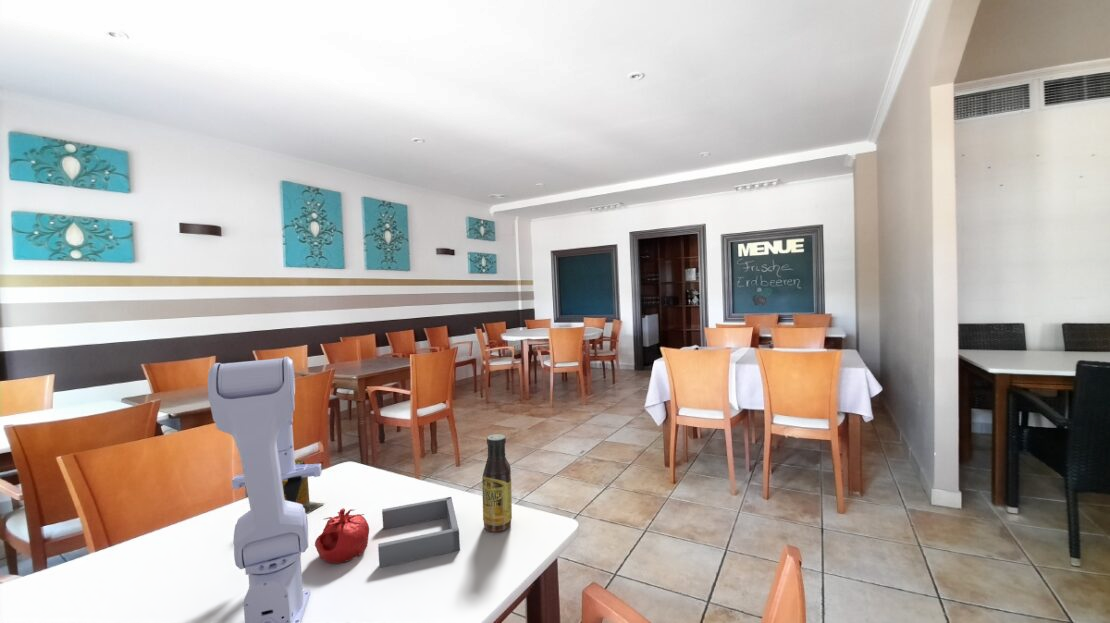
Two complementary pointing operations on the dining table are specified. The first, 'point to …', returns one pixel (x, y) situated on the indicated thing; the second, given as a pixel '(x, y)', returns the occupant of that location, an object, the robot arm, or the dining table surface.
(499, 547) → the dining table surface
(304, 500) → the condiment
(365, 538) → the pomegranate
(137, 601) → the dining table surface
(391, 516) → the tray
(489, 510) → the sauce bottle
